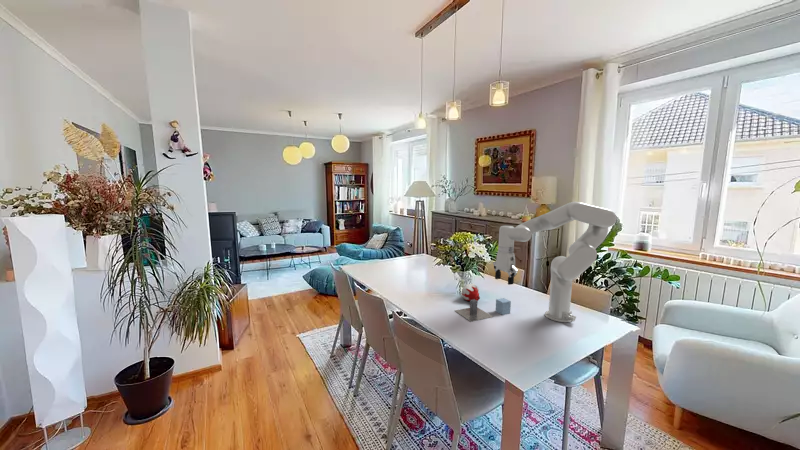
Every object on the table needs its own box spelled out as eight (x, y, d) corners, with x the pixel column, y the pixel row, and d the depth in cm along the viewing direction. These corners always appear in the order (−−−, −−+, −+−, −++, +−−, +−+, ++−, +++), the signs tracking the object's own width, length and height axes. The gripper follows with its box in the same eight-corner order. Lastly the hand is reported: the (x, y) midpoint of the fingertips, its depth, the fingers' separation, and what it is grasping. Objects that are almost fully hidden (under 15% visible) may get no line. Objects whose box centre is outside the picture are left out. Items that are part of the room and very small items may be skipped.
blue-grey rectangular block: (510, 313, 160) (510, 301, 160) (502, 314, 158) (503, 302, 157) (503, 309, 165) (503, 298, 164) (495, 311, 163) (496, 299, 162)
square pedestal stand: (493, 317, 155) (493, 303, 154) (470, 321, 150) (471, 307, 149) (475, 307, 168) (476, 294, 167) (454, 311, 162) (454, 297, 162)
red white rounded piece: (471, 293, 188) (486, 305, 174) (455, 295, 184) (469, 307, 170) (472, 280, 186) (488, 290, 172) (456, 281, 182) (471, 293, 168)
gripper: (523, 252, 152) (521, 285, 154) (500, 246, 168) (498, 276, 170) (512, 253, 149) (510, 287, 151) (489, 246, 165) (487, 277, 167)
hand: (504, 281), depth 160 cm, fingers open, 9 cm apart
